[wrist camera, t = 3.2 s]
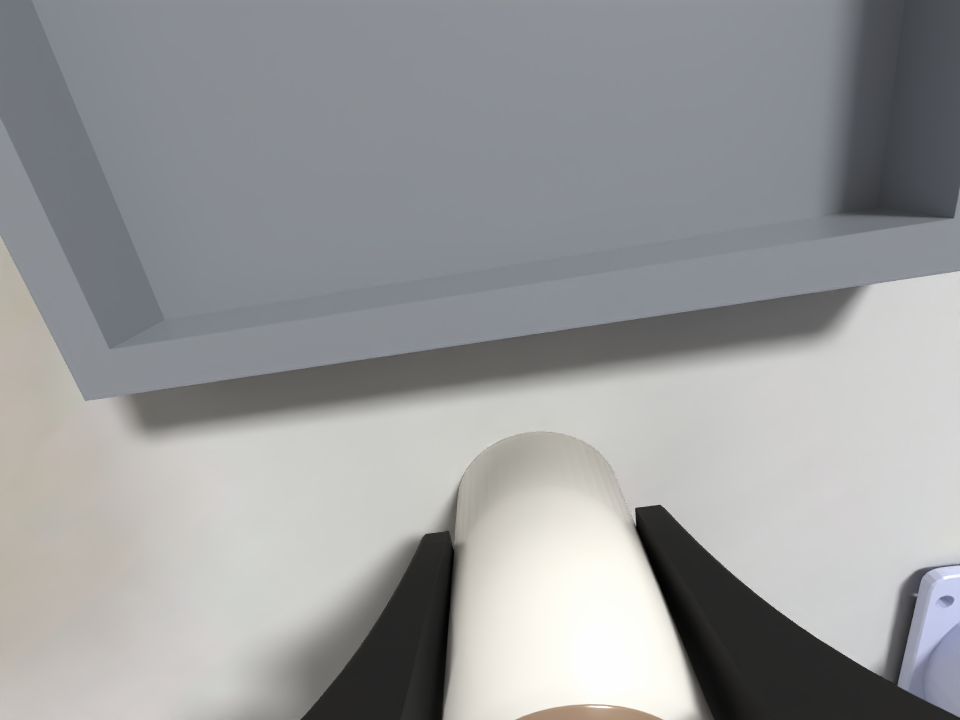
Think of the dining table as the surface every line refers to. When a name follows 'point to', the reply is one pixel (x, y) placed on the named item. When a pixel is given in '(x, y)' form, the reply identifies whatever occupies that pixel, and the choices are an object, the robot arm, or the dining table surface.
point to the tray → (456, 169)
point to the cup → (557, 596)
